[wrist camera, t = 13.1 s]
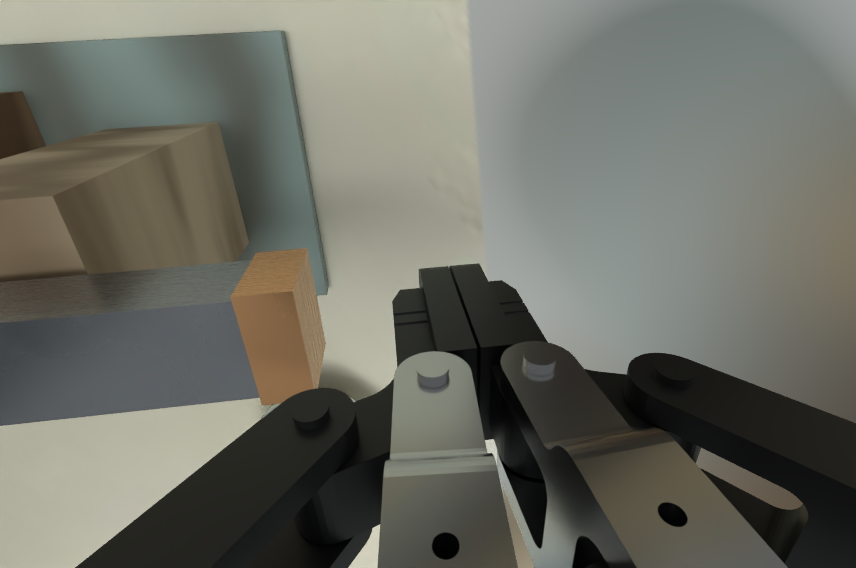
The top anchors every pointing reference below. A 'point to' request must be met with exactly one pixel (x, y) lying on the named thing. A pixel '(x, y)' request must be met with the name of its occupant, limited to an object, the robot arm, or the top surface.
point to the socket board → (189, 95)
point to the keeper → (159, 338)
